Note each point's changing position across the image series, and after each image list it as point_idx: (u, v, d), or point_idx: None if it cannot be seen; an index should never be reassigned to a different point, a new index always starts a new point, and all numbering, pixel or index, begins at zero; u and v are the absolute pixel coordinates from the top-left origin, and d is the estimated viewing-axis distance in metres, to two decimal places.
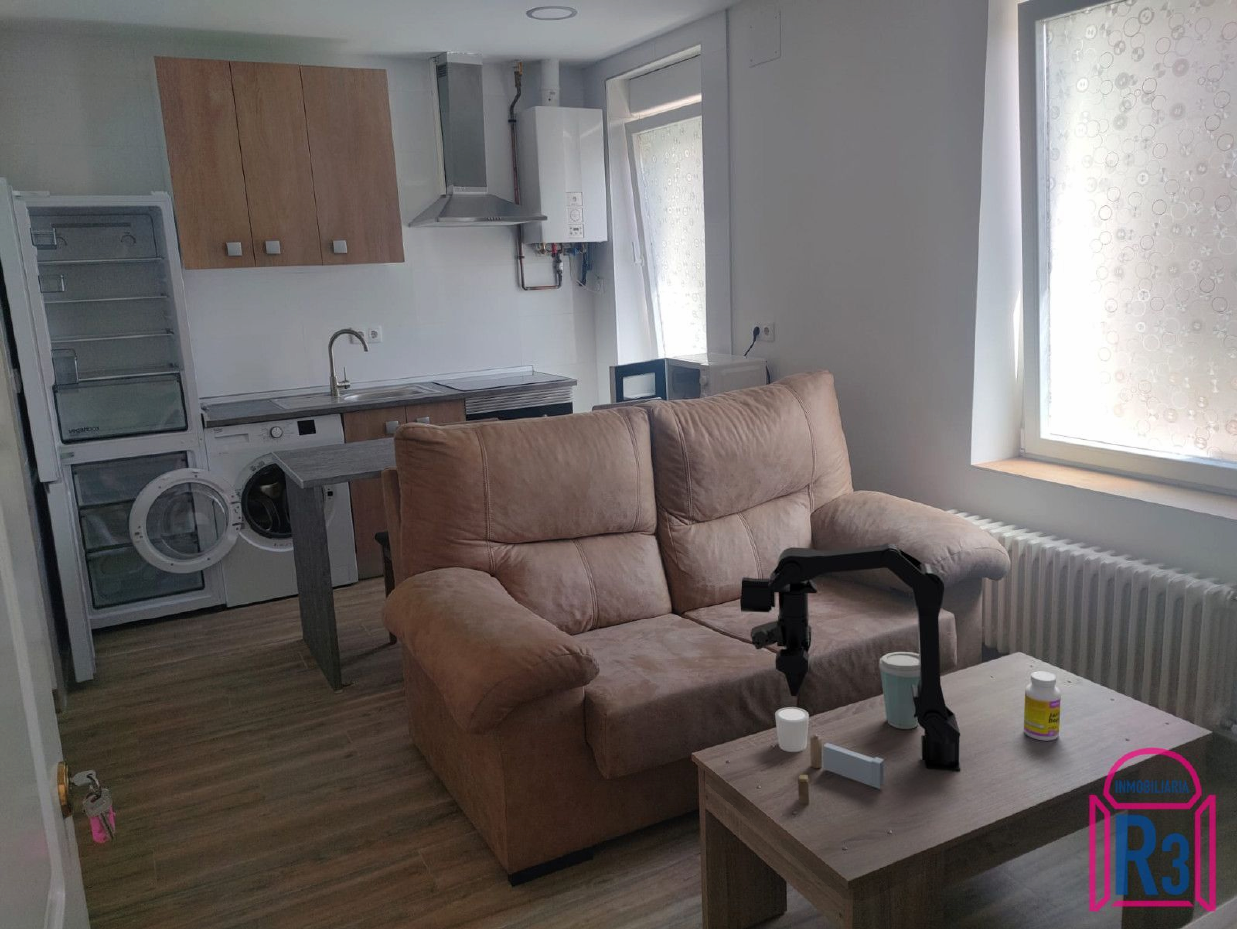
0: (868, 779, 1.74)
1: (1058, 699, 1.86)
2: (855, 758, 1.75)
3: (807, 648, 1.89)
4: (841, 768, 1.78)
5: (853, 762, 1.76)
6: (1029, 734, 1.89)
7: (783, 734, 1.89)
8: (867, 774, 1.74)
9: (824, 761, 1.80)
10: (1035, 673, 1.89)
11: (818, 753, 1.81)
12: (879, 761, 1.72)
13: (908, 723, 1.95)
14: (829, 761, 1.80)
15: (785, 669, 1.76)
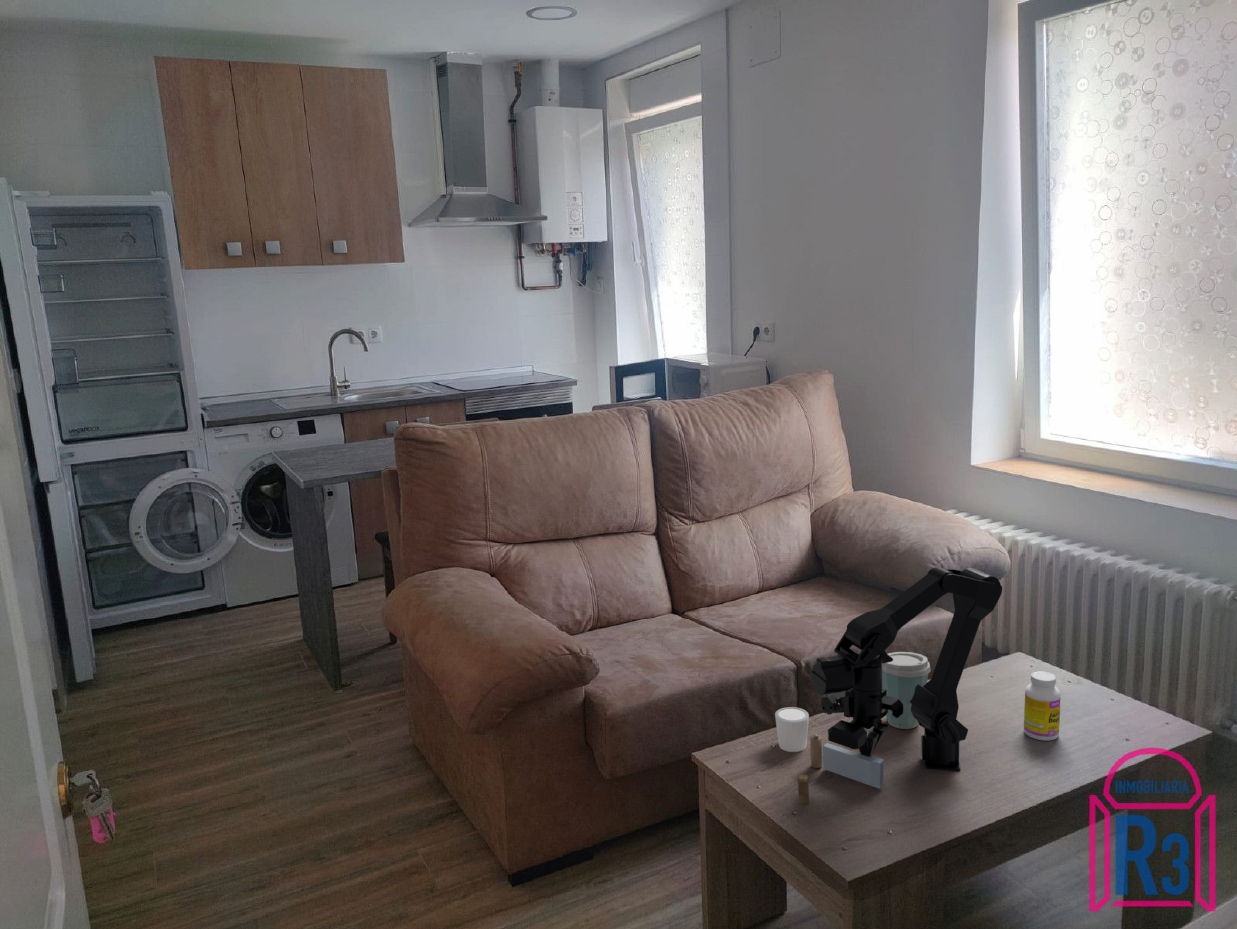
0: (868, 779, 1.74)
1: (1058, 699, 1.86)
2: (855, 758, 1.75)
3: (879, 734, 1.74)
4: (841, 768, 1.78)
5: (853, 762, 1.76)
6: (1029, 734, 1.89)
7: (783, 734, 1.89)
8: (867, 774, 1.74)
9: (824, 761, 1.80)
10: (1035, 673, 1.89)
11: (818, 753, 1.81)
12: (879, 761, 1.72)
13: (908, 723, 1.95)
14: (829, 761, 1.80)
15: (835, 741, 1.70)
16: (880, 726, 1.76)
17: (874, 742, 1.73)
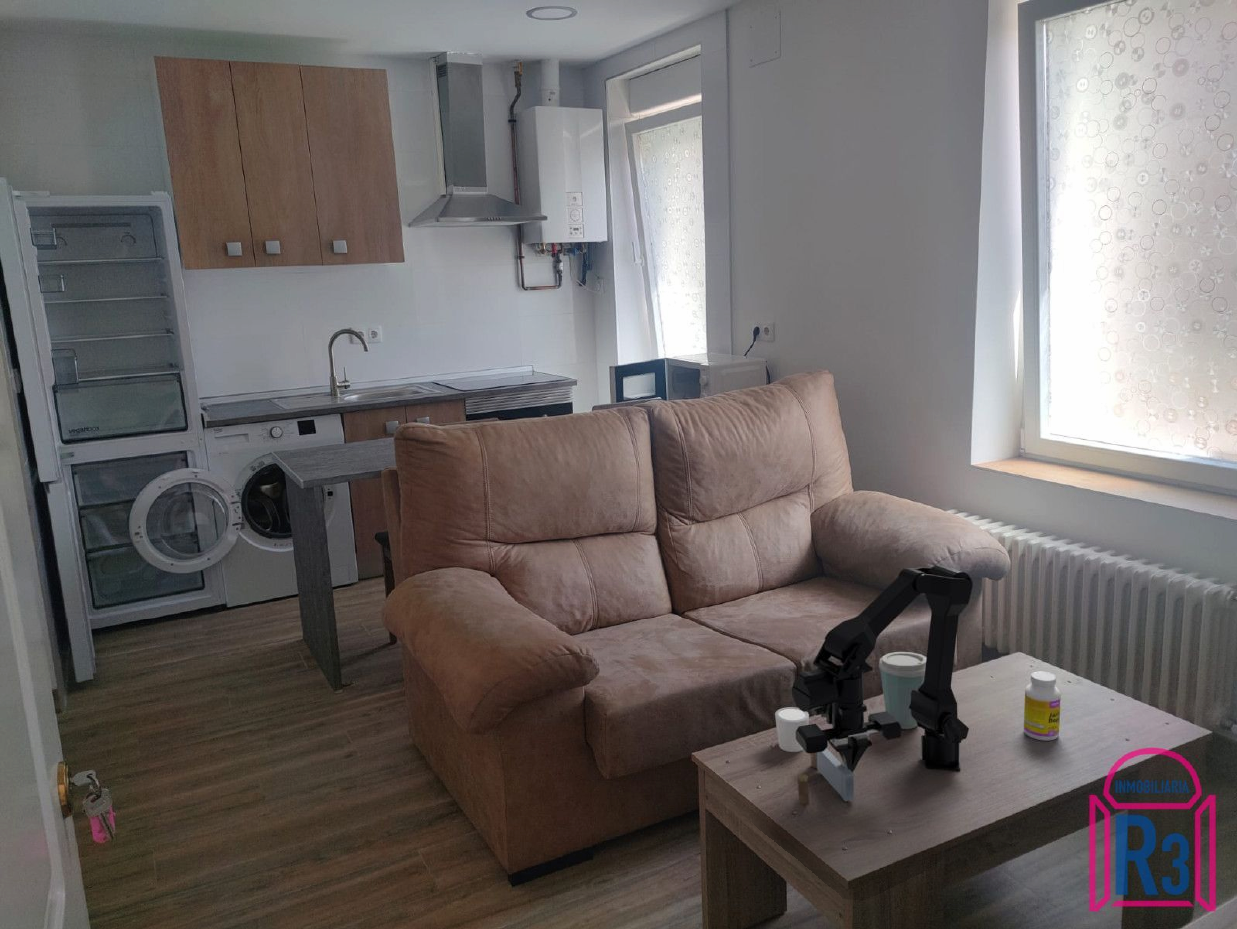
0: (839, 789, 1.71)
1: (1058, 699, 1.86)
2: (833, 766, 1.73)
3: (856, 749, 1.70)
4: (826, 773, 1.77)
5: (832, 769, 1.74)
6: (1029, 734, 1.89)
7: (783, 734, 1.89)
8: (839, 784, 1.71)
9: (817, 762, 1.80)
10: (1035, 673, 1.89)
11: (815, 753, 1.81)
12: (847, 774, 1.69)
13: (908, 723, 1.95)
14: (820, 763, 1.79)
15: (798, 741, 1.71)
16: (863, 742, 1.70)
17: (847, 755, 1.69)
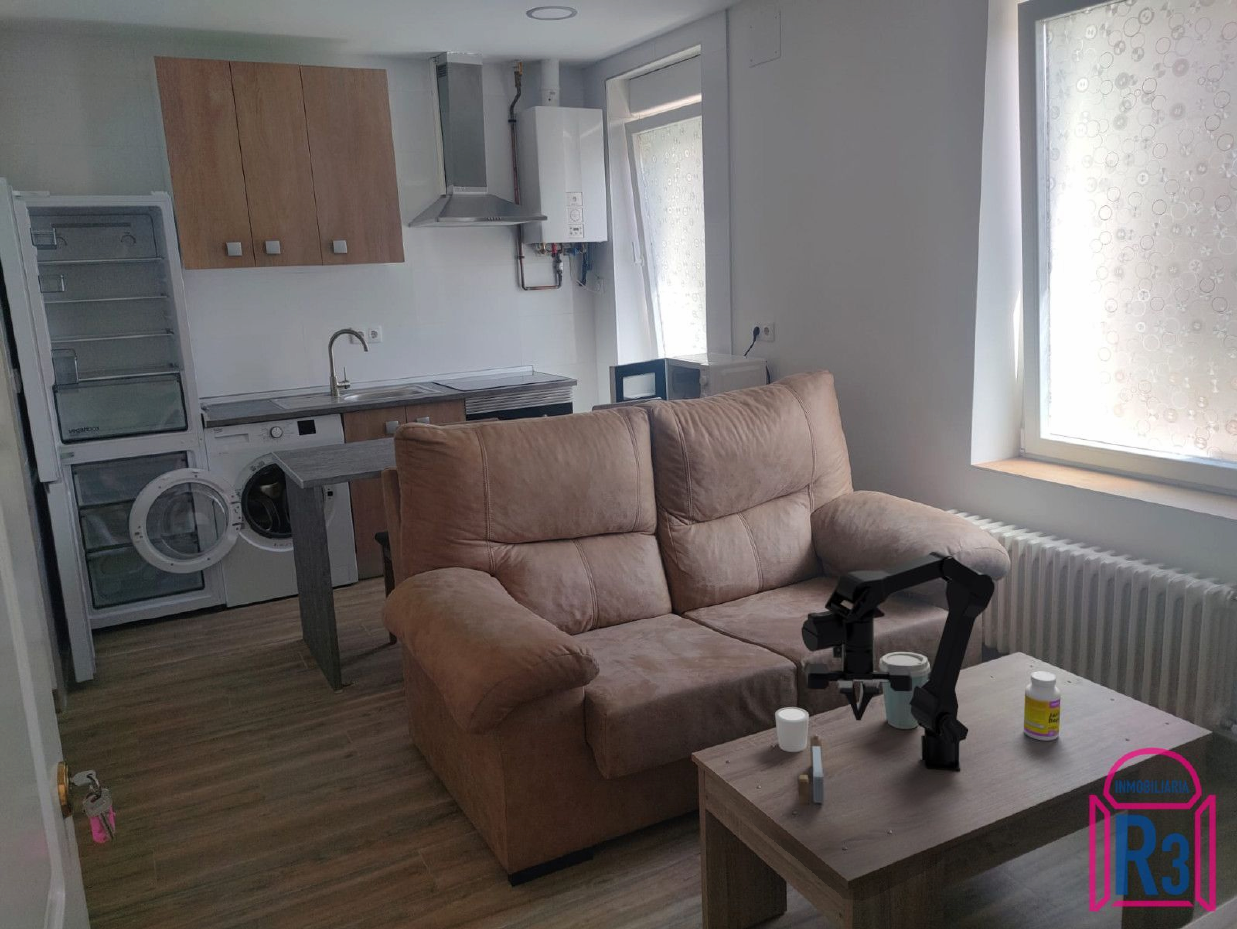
0: None
1: (1058, 699, 1.86)
2: (813, 766, 1.73)
3: (862, 695, 1.70)
4: None
5: (813, 769, 1.74)
6: (1029, 734, 1.89)
7: (783, 734, 1.89)
8: None
9: None
10: (1035, 673, 1.89)
11: (812, 752, 1.82)
12: (817, 775, 1.69)
13: (908, 723, 1.95)
14: None
15: None
16: (871, 689, 1.70)
17: (850, 698, 1.71)
